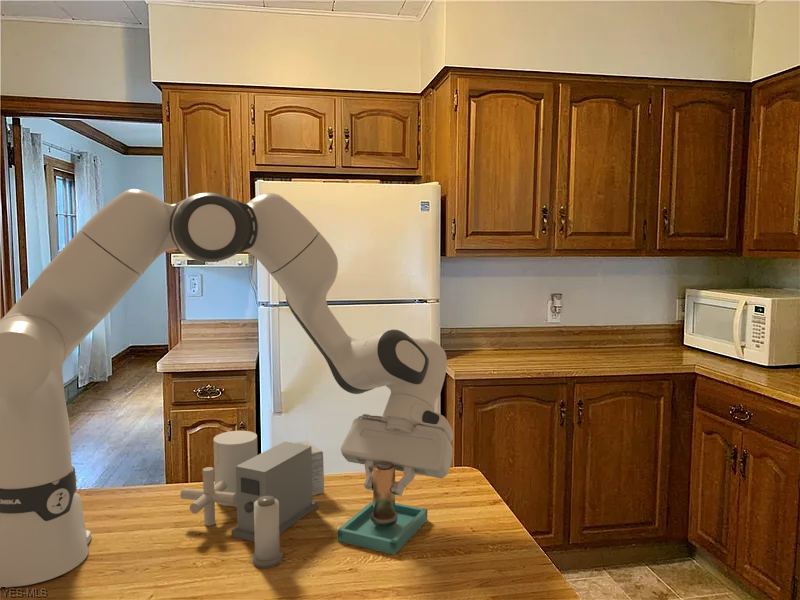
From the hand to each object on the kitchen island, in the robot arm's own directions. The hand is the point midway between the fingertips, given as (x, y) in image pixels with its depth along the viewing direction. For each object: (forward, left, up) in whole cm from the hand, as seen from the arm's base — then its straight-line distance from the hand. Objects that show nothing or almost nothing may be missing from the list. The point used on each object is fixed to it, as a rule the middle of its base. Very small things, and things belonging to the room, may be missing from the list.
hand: (382, 491), depth 110 cm
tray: (0, +1, -7) cm, 7 cm away
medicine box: (-22, +10, -8) cm, 25 cm away
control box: (-19, -4, -7) cm, 21 cm away
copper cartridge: (0, +1, -5) cm, 5 cm away
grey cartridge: (-12, -16, -7) cm, 22 cm away
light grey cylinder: (-32, +1, -7) cm, 33 cm away
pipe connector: (-29, -10, -7) cm, 32 cm away
